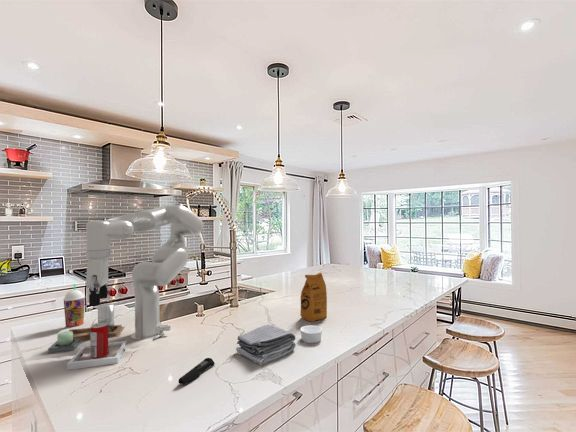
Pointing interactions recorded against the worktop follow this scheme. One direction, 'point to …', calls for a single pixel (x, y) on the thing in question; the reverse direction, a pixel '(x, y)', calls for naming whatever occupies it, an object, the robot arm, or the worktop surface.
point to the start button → (65, 338)
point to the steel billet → (106, 315)
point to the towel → (265, 344)
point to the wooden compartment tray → (85, 333)
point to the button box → (72, 347)
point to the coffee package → (314, 298)
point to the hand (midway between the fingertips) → (98, 301)
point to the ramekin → (311, 334)
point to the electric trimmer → (196, 371)
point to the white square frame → (96, 362)
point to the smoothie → (74, 308)
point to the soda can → (99, 340)
